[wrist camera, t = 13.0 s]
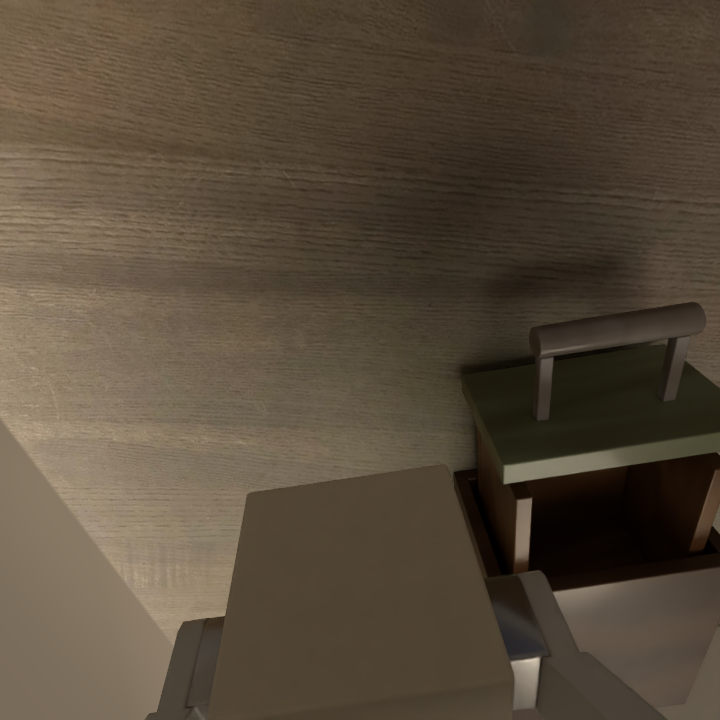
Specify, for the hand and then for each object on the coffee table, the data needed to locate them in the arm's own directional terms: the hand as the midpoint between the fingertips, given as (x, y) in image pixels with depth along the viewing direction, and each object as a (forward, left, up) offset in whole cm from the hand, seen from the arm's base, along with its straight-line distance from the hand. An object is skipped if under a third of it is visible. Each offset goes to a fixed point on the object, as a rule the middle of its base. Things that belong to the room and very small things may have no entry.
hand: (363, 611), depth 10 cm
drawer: (-2, +15, -17) cm, 23 cm away
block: (0, 0, -2) cm, 2 cm away
